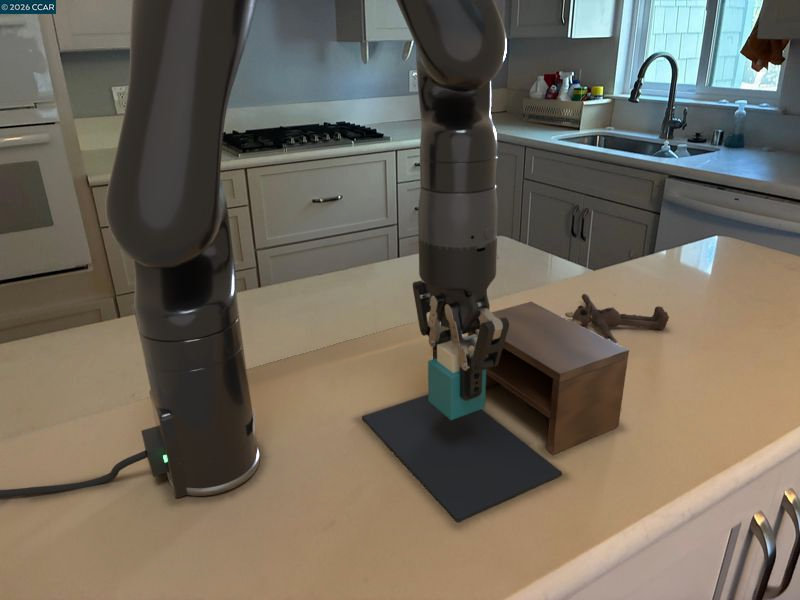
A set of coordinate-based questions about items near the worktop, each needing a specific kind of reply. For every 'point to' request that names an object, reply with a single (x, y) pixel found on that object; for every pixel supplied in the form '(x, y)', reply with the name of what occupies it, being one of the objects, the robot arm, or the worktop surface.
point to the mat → (460, 455)
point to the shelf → (561, 373)
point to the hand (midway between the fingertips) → (456, 386)
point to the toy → (451, 383)
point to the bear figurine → (615, 318)
